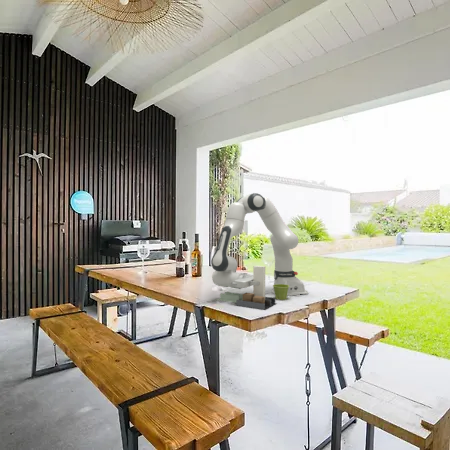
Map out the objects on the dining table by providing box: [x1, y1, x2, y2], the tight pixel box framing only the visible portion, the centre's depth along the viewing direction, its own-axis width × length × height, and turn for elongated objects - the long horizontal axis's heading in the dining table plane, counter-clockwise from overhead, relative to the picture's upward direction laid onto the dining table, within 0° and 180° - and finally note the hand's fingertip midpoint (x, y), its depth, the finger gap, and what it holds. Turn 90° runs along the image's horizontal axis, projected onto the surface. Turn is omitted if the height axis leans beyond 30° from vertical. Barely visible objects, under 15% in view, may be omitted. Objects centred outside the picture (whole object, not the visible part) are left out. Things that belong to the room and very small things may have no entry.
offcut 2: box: [253, 296, 266, 303], centre depth 185 cm, size 4×5×5 cm
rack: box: [233, 296, 278, 311], centre depth 189 cm, size 16×18×4 cm
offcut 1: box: [242, 292, 254, 302], centre depth 188 cm, size 4×5×6 cm
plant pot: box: [272, 284, 289, 301], centre depth 203 cm, size 9×9×9 cm
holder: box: [215, 291, 244, 304], centre depth 201 cm, size 12×14×4 cm
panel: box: [252, 265, 266, 297], centre depth 192 cm, size 2×6×20 cm, turn 59°
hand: (260, 283), depth 192 cm, fingers closed on panel, 2 cm apart
